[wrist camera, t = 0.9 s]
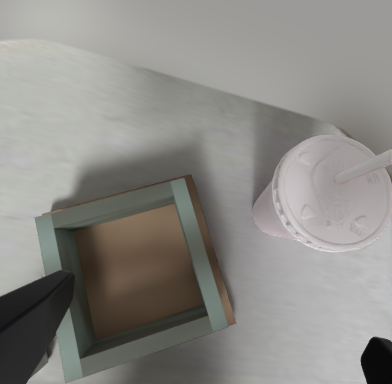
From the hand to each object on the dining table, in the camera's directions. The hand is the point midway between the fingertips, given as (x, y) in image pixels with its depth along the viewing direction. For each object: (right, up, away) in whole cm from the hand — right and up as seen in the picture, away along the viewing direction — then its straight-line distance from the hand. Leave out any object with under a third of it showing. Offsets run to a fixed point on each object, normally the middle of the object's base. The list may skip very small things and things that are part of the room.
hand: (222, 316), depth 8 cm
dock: (-5, -2, +14) cm, 15 cm away
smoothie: (+6, +2, +16) cm, 17 cm away
